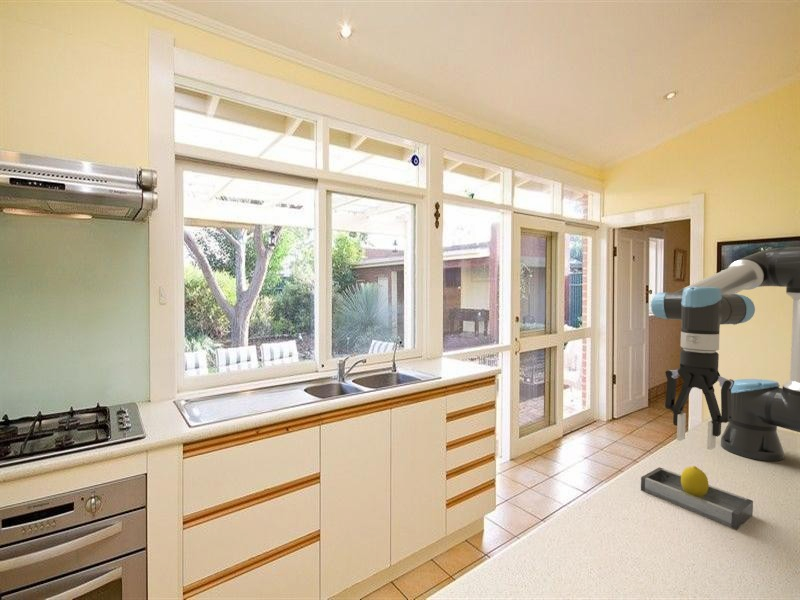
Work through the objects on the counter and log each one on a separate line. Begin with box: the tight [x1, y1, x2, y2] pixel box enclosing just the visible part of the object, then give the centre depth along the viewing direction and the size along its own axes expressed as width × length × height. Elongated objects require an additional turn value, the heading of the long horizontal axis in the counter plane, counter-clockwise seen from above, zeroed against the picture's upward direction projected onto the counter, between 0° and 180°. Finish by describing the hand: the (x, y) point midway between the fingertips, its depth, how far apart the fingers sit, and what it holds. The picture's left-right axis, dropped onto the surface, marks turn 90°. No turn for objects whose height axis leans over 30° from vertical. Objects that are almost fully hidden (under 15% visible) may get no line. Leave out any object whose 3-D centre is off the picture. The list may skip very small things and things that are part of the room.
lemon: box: [680, 465, 710, 497], centre depth 98 cm, size 6×6×8 cm
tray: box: [640, 467, 754, 531], centre depth 98 cm, size 10×20×4 cm, turn 33°
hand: (695, 443), depth 98 cm, fingers open, 6 cm apart
